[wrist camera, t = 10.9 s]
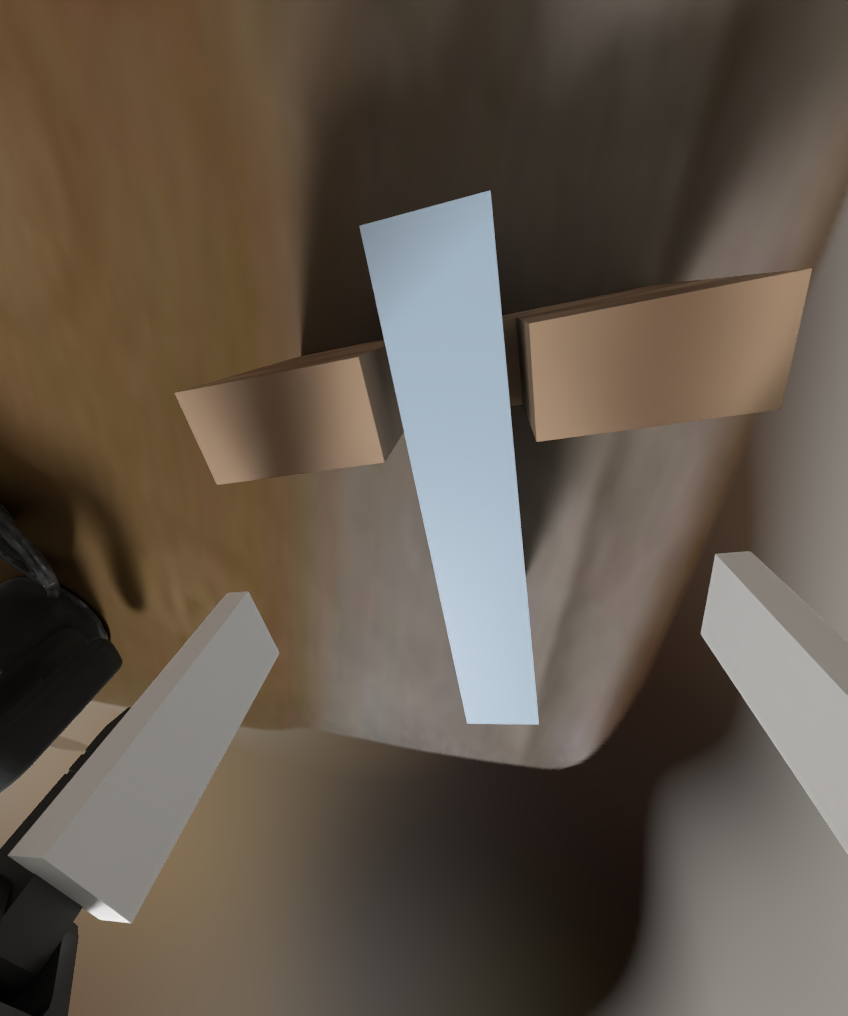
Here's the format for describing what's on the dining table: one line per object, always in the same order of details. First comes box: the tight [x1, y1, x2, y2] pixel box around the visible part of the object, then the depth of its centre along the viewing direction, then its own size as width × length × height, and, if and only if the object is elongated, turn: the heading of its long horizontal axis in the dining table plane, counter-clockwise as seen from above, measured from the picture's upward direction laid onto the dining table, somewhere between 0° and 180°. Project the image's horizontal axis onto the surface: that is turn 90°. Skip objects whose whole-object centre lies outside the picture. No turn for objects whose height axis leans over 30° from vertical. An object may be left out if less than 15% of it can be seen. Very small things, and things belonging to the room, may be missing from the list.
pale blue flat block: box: [359, 190, 539, 724], centre depth 16 cm, size 18×3×9 cm, turn 11°
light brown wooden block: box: [175, 268, 812, 485], centre depth 14 cm, size 16×3×9 cm, turn 101°
